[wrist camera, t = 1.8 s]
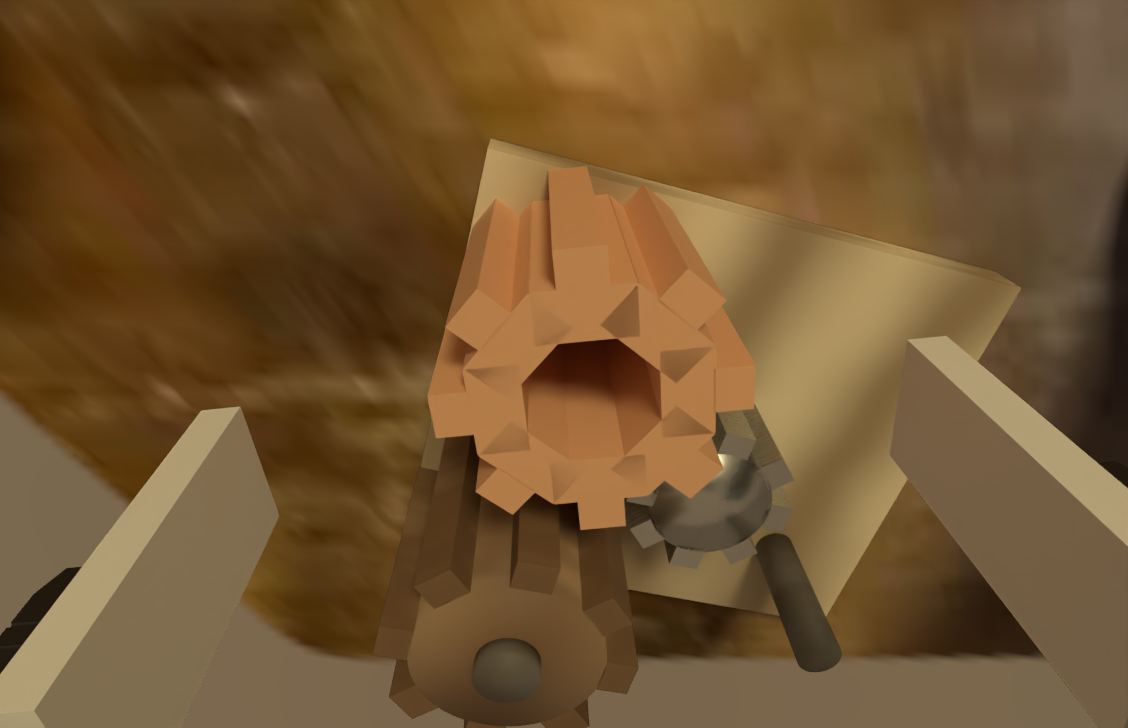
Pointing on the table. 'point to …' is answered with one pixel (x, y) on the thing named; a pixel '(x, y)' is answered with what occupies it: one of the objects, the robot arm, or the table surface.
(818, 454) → the carrier
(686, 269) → the planet gear
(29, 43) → the table surface
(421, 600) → the pinned planet gear
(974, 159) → the table surface
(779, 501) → the sun gear
